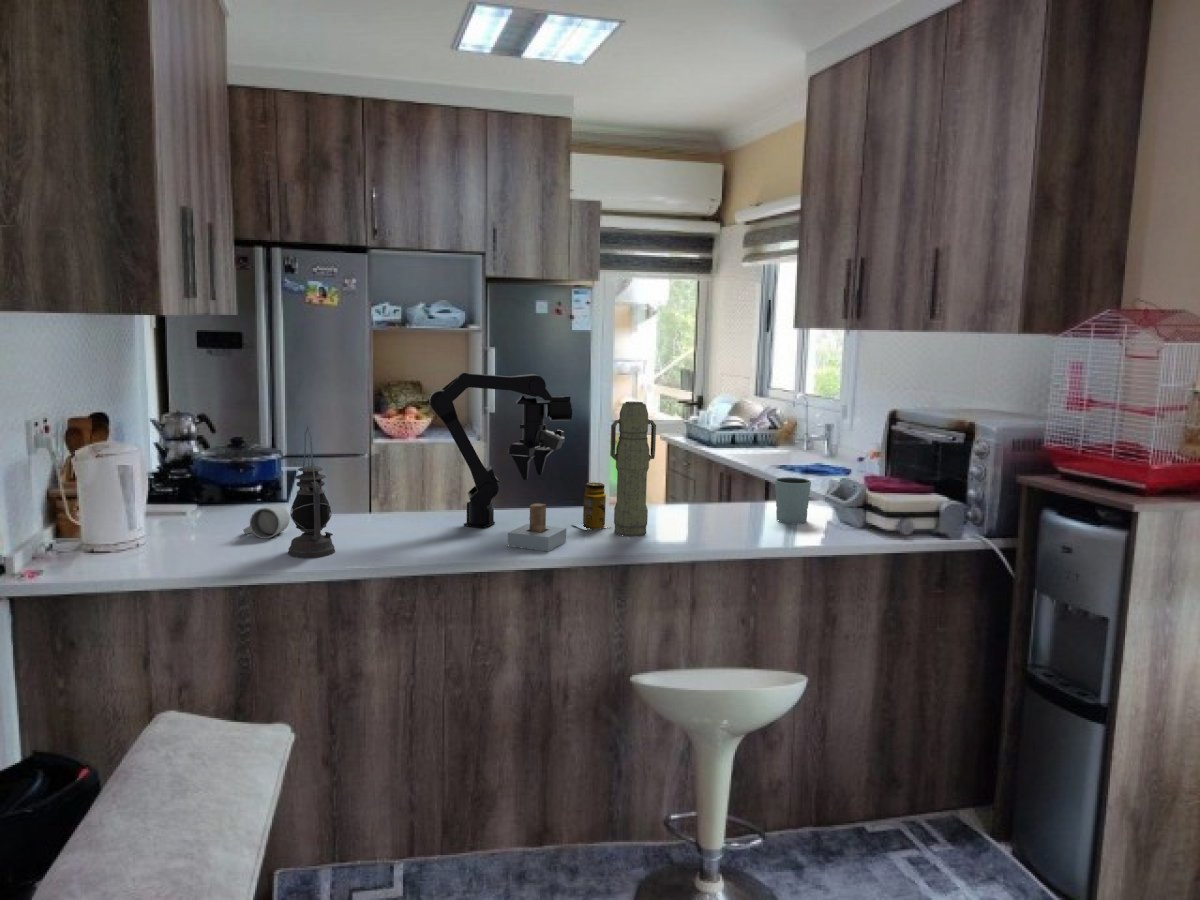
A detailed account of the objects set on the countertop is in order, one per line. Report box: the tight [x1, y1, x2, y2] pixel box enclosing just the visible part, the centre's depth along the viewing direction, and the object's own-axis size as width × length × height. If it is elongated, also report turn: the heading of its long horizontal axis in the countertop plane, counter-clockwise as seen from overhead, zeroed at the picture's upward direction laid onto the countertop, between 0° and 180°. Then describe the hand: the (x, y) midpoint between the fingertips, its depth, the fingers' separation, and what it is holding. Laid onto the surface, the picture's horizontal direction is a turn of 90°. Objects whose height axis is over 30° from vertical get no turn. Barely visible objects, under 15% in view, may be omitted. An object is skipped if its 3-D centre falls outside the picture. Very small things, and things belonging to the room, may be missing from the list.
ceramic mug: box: [242, 504, 291, 539], centre depth 221 cm, size 11×8×8 cm
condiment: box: [582, 482, 611, 531], centre depth 238 cm, size 7×8×12 cm
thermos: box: [609, 401, 657, 537], centre depth 231 cm, size 9×12×35 cm
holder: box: [507, 523, 567, 552], centre depth 218 cm, size 11×11×4 cm
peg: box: [529, 502, 547, 533], centre depth 218 cm, size 3×3×10 cm
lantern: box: [287, 425, 336, 559], centre depth 203 cm, size 12×11×30 cm
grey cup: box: [774, 476, 812, 525], centre depth 252 cm, size 10×10×12 cm
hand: (532, 477), depth 239 cm, fingers open, 9 cm apart
